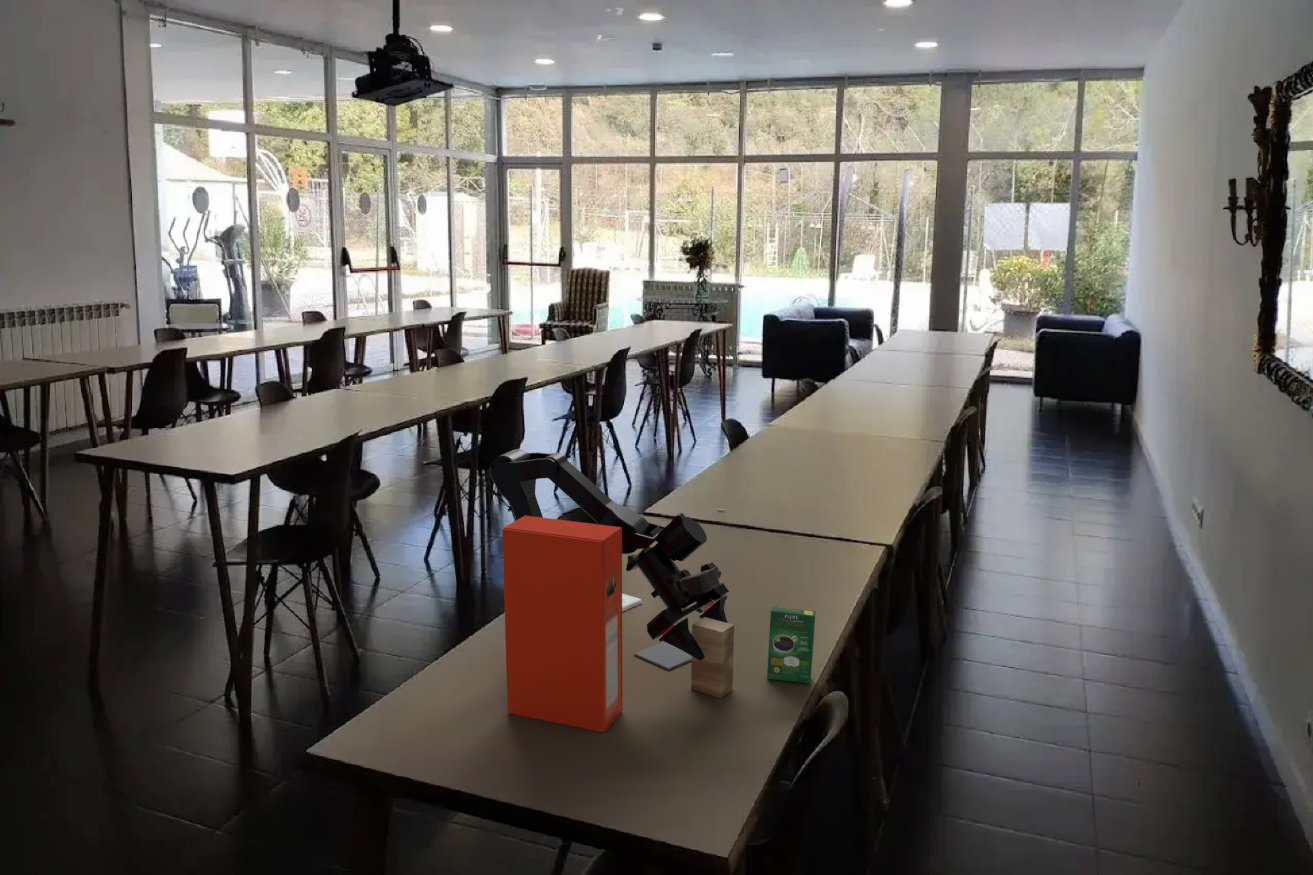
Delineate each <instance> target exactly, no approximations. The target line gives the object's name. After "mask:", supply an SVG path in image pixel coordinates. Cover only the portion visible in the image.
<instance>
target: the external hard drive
mask: <svg viewBox="0 0 1313 875" xmlns="http://www.w3.org/2000/svg"><path fill="white" fill-rule="evenodd" d="M642 603H643V601H642V599H641V598H638V597H635V596H632V595H630V594H629V595H628V594H627V593H623V592H622V613H623V612H625V611H628V610H630V609H632V608H635V607H637V606H639V605H641V604H642Z"/></svg>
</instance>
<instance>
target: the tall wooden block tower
mask: <svg viewBox="0 0 1313 875" xmlns="http://www.w3.org/2000/svg"><path fill="white" fill-rule="evenodd" d="M691 634H692V636H693V637H694V639H695V640H696V642H697V644H698V645H699V647H700V648H701V650H702V652H703V654H704V656H705V658H704V659H703V660H701V661H700V660H698V659H696V658H694V657H693V656H692V661H691V665H690V666H691V670H690V671H691V672H690V674H691V675H690V677H691V678H690V689H691V690H693V691H697V692H700V693H703V694H706V695H709V696H712V697H716V698H719V699H721V698H722V699H723V697H724V696H727V694H729V693H730V692H731V691H733V690H734V689H733V687H734V681H733V680H734V655H735V654H734V652H735V651H734V650H735V648H734V647H735V644H734V642H735V624H733V623H729V622H728V623H725V622H722V621H718V620H714V619H710V618H707V617H704V618H702V619H701V618H700V619H698V620H696V621H695V622H693V623H692V624H691Z"/></svg>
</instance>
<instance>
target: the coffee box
mask: <svg viewBox="0 0 1313 875" xmlns="http://www.w3.org/2000/svg"><path fill="white" fill-rule="evenodd" d="M815 624H816V610H812V609H803V608H794V607H793V608H792V607H785V606H777V605H776V606H775V605H772V607H771V610H770V621H769V632H768V633H769V635H768V636H769V637H768V654H767V655H768V656H767V671H766V672H767V674H766V679H768V680H775V681H782V682H783V681H784V682H793V683H798V684H808V685H809V684H810V685H811V684H812V674H813V673H812V672H813V658H814V644H815V628H816V627H815Z"/></svg>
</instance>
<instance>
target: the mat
mask: <svg viewBox="0 0 1313 875" xmlns="http://www.w3.org/2000/svg"><path fill="white" fill-rule="evenodd" d="M633 655H634V656H635V657H637V658H639V659H642V660H644V661H647V662H649V663H650V664H654V665H656V666H657V667H660V668H662V669H665V670H667V671H670V670H672V669H675V668H677V667H680V666H682V665H685V664H686V663H689V662H692V656H691V655H689V654H687V653H686V652H684V651H682V650H680V649H678V648H677V647H674V646H672V645H670V644H668V643H666V642H664V641H661V642H659V643H657V644H654V645H652V646H649V647H647V648H645V649H642V650H639V651H637V652H635V653H634V654H633Z"/></svg>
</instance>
